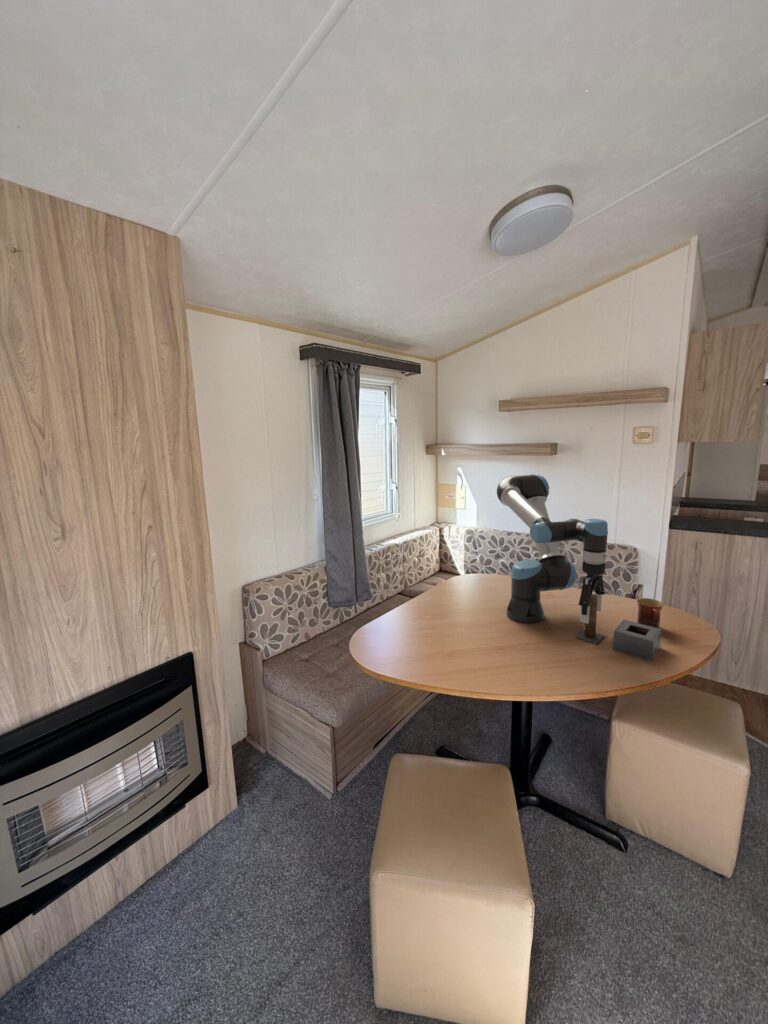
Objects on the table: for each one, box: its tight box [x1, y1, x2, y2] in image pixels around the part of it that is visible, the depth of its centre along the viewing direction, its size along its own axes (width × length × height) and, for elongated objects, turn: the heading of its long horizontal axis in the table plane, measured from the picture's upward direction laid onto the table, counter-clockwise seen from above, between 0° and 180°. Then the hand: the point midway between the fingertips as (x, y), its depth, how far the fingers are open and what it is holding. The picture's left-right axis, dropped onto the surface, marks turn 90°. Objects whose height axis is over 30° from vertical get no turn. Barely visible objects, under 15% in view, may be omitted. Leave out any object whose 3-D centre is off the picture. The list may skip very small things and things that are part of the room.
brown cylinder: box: [584, 593, 598, 638], centre depth 154 cm, size 4×4×16 cm
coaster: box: [574, 628, 605, 646], centre depth 156 cm, size 8×8×1 cm
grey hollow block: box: [612, 619, 662, 662], centre depth 146 cm, size 12×12×7 cm
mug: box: [636, 597, 664, 629], centre depth 160 cm, size 12×9×10 cm
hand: (590, 616), depth 154 cm, fingers open, 13 cm apart
